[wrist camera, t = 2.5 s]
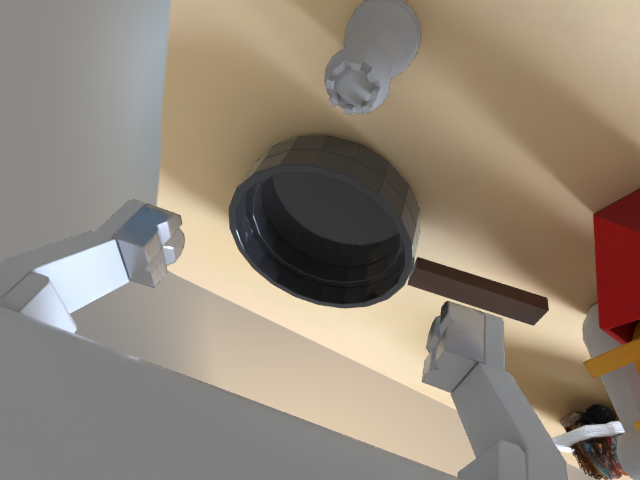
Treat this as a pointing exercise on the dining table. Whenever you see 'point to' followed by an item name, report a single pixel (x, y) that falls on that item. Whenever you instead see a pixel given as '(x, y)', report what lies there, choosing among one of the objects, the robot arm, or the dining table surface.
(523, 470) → the robot arm
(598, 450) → the white tray with chunks
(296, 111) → the dining table surface
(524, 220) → the dining table surface
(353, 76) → the rook chess piece
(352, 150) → the pan
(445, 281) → the pan handle
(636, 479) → the salt shaker
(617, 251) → the french fries
